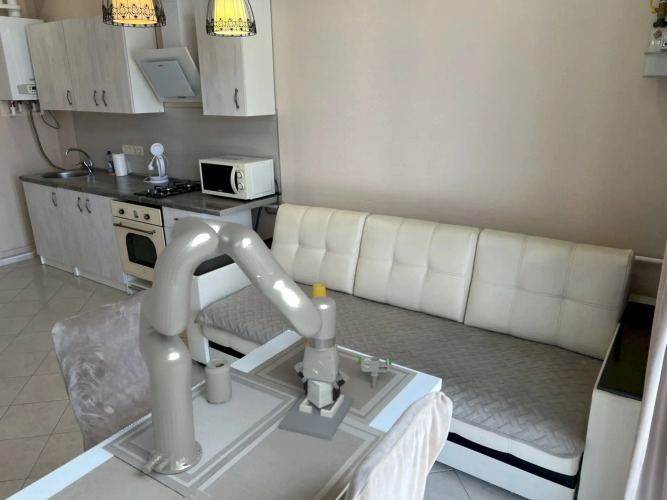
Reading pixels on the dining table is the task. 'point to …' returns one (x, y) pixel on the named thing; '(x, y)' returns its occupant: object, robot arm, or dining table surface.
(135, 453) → the dining table surface
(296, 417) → the board
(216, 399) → the can
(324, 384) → the product box
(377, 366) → the mechanical component
